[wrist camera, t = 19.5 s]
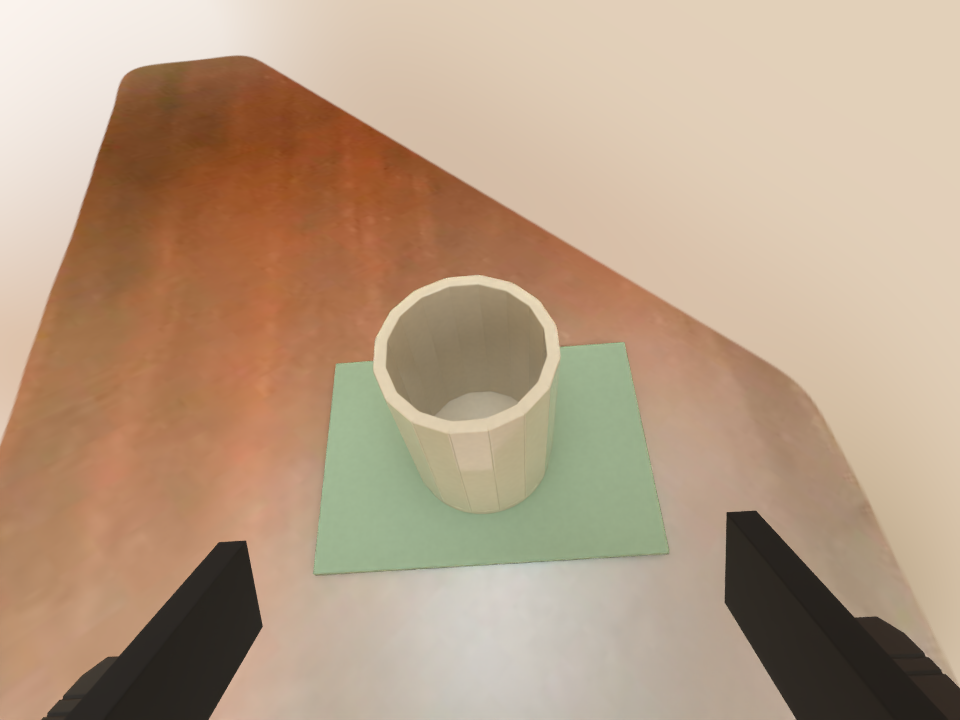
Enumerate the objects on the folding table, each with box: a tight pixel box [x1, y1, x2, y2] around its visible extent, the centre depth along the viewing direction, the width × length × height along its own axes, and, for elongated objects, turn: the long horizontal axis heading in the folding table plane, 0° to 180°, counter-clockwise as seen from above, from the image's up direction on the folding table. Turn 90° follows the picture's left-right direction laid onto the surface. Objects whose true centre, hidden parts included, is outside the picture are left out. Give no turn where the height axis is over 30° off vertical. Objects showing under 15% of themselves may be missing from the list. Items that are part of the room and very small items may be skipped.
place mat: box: [313, 342, 669, 575], centre depth 35 cm, size 20×14×1 cm
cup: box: [373, 275, 561, 514], centre depth 30 cm, size 8×8×12 cm
